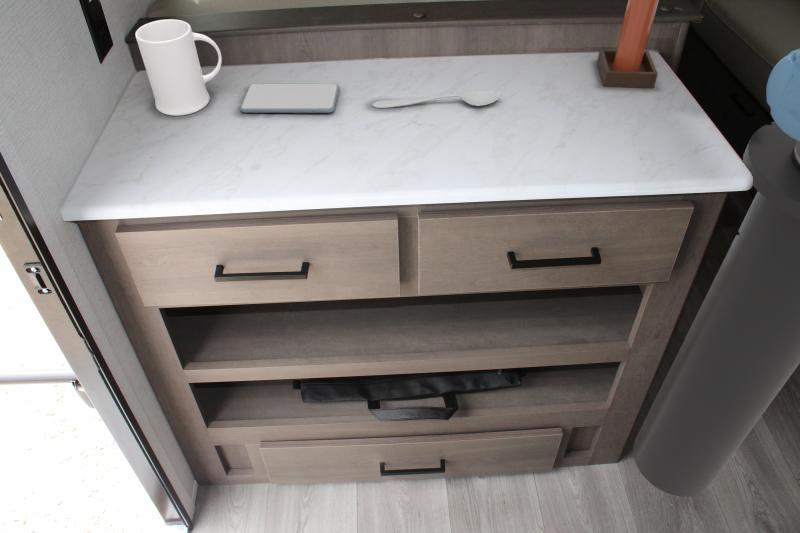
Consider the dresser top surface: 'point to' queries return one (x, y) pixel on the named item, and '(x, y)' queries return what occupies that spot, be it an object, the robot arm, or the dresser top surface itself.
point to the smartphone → (290, 98)
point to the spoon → (469, 97)
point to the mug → (175, 66)
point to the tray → (626, 72)
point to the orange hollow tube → (634, 35)
